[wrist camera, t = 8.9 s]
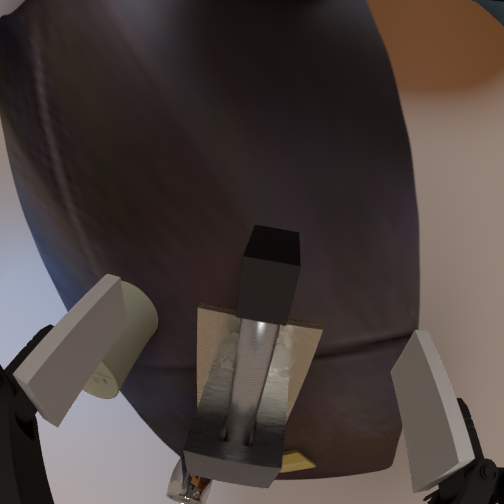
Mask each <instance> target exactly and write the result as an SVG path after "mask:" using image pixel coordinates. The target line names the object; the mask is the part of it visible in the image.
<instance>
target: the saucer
mask: <svg viewBox="0 0 504 504" xmlns="http://www.w3.org/2000/svg"><path fill="white" fill-rule="evenodd" d="M315 466H316V465H315V464H314V463H313V462H312V461H311V460H310V459H309V458H308V457H306V456H305V455H303V454H302V453H301V452H300V451H298V450H297V449H292V450H287V451H283V460H282V469H281V470H280V472H289V471H295V470H301V469H307V468H313V467H315Z"/></svg>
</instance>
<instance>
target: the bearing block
mask: <svg viewBox="0 0 504 504" xmlns="http://www.w3.org/2000/svg"><path fill="white" fill-rule="evenodd" d="M235 316H236V310H234V309H229V308H224V307H219V306H214V305H209V304H204V303H200V304H199V306H198V318H197V411H196V414H195V417H194V420H193V423H192V426H191V429H190V432H189V435H188V438H187V441H186V444H185V447H184V450H183V451H184V457H185V463H186V468H187V473H188V474H192V475H196V476H200V477H204V478H209V479H213V480H218V481H223V482H229V483H234V484H239V485H246V486H253V487H260V488H269V486H270V485H271V483H272V482H273V481H274V479H275V478H276V476H277V475H278V473H279V472H280V470H281V469H282V460H283V449H284V438H285V425H286V422H287V419H288V417H289V415H290V413H291V410H292V408H293V406H294V403H295V401H296V399H297V396H298V394H299V392H300V389H301V387H302V384H303V382H304V379H305V377H306V374H307V372H308V369H309V367H310V364H311V362H312V359H313V356H314V354H315V351H316V348H317V346H318V343H319V340H320V337H321V335H322V332H323V324H317V323H310V322H303V321H297V320H291V319H288V320H287V324H286V326H282V325H280V329H279V333H278V337H277V341H276V345H275V349H274V353H273V357H272V361H271V365H270V369H269V373H268V376H267V380H266V384H265V388H264V391H263V395H262V398H261V402H260V406H259V409H258V413H257V416H256V420H255V423H254V427H253V430H252V433H251V437H250V440H249V443H248V446H243V445H237V444H232V443H226V442H224V438H225V430H226V423H227V415H228V408H229V400H230V393H231V385H232V378H233V370H234V363H235V355H236V348H237V341H238V333H239V326H240V318H237V317H235Z"/></svg>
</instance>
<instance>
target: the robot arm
mask: <svg viewBox="0 0 504 504" xmlns="http://www.w3.org/2000/svg"><path fill="white" fill-rule="evenodd" d="M472 1H475V2H477V3H478V4H480V6H482V7H483V8H484V9H485V10H486V11H488V12H489V13H490V14H491V15H492V16H493V17H494V18H495V19H496V20H498V21H499V22H500V23H501V24H502V25H503V26H504V0H472ZM127 324H128V323H127V317H126V311H125V305H124V299H123V292H122V285H121V277H118V276H114V275H110V274H106V275H105V276H104V277H103V278H102V279H101V280H100V281H99V282H98V283H97V284H96V285H95V286H94V287H93V288H92V289H90V290H89V291H88V292H87V293H86V294H85V295H84V296H83V297H82V298H81V299H80V300H79V301H78V302H77V303H76V304H75V305H74V307H73V308H72V309H71V310H70V311H69V312H68V313H67V314H66V315H65V316H64V317H63V318H62V319H61V320H60V321H59V323H57V324H56V325H55V326H53V325H48V326H46V327H44V328H43V329H41V330H40V331H39V332H38V333H37V334H36V335H35V336H34V337H33V339H32V340H30V341H29V342H28V344H27V346H25V347H24V348H23V349H22V350H21V351H20V352H19V354H18V355H17V356H16V357H15V358H14V359H13V361H12V362H11V363H10V364H9V365H8V366H7V367H6V369H4V370H3V368H2V367H1V365H0V504H54V501H53V498H52V494H51V491H50V487H49V483H48V480H47V475H46V471H45V466H44V462H43V457H42V451H41V445H40V440H39V433H38V425H37V419H36V416H35V414H36V412H37V411H38V412H39V413H40V415H41V416H42V417H43V418H44V419H45V420H47V421H48V422H50V423H51V424H53V425H55V426H56V427H58V426H59V425H60V423H61V422H62V420H63V418H64V417H65V415H66V413H67V412H68V410H69V409H70V407H71V406H72V404H73V403H74V401H75V399H76V398H77V396H78V395H79V393H80V392H81V390H82V389H83V387H84V386H85V384H86V383H87V381H88V380H89V378H90V377H91V376H92V374H93V373H94V371H95V370H96V368H97V367H98V365H99V364H100V362H101V361H102V359H103V358H104V357H105V355H106V354H107V352H108V351H109V349H110V348H111V347H112V345H113V344H114V342H115V341H116V340H117V338H118V337H119V335H120V334H121V333H122V331H123V330H124V329H125V327H126V326H127ZM390 372H391V376H392V380H393V384H394V388H395V392H396V397H397V401H398V406H399V410H400V415H401V420H402V425H403V430H404V435H405V441H406V447H407V452H408V459H409V466H410V473H411V480H412V489H413V493H416V492H421V491H426V490H429V489H431V488H432V487H434V486H436V485H437V484H438V485H439V489H438V490H437V491H435V492H433V493H431V494H430V495H428V496H426V497H425V498H424V499H423V500H424V501H426V500H428V499H430V498H431V497H432V498H431V500H430V501H428V502H427V503H428V504H496V503H498V504H504V468H501V467H496V465H495V463H494V462H493V461H492V460H490V459H485V458H484V456H483V453H482V449H481V446H480V442H479V439H478V436H477V433H476V430H475V427H474V424H473V421H472V419H471V415H470V412H469V409H468V407H467V405H466V404H465V403H464V401H463V400H462V399H461V398H456V397H455V394H454V391H453V388H452V386H451V383H450V381H449V378H448V376H447V373H446V371H445V368H444V366H443V363H442V361H441V359H440V356H439V354H438V352H437V349H436V347H435V345H434V343H433V341H432V338H431V336H430V334H429V332H428V331H420V330H415V331H414V332H413V334H412V336H411V338H410V340H409V341H408V343H407V345H406V347H405V348H404V350H403V352H402V354H401V355H400V357H399V359H398V360H397V362H396V363H395V365H394V367H393V368H392V370H391V371H390Z"/></svg>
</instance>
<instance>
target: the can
mask: <svg viewBox="0 0 504 504" xmlns="http://www.w3.org/2000/svg"><path fill="white" fill-rule="evenodd" d="M121 285H122V292H123V299H124V305H125V311H126V317H127V323H128V324H127V326H126V327H125V329H124V330H123V331H122V333H121V334H120V335H119V337H118V338H117V340H116V341H115V342H114V344H113V345H112V347H111V348H110V349H109V351H108V352H107V354H106V355H105V357H104V358H103V359H102V361H101V362H100V364H99V365H98V367H97V368H96V370H95V371H94V373H93V374H92V376H91V377H90V378H89V380H88V381H87V383H86V384H85V386H84V387H83V389H82V390H84V391H86V392H87V393H89V394H91V395H94V396H96V397H99V398H104V399H111V398H114V397H116V396H117V394H118V393H119V390H120V388H121V386H122V384H123V382H124V381H125V379H126V377H127V375H128V374H129V372H130V370H131V368H132V367H133V365H134V363H135V362H136V360H137V358H138V357H139V355H140V353H141V352H142V350H143V348H144V347H145V345H146V344H147V342H148V341H149V339H150V338H151V336H152V335H153V334H154V333H155V332H156V330H157V328H158V314H157V311H156V309H155V307H154V305H153V303H152V302H151V300H150V299H149V298H148V297H147V295H146V294H145V293H144V292H142V291H141V290H140V289H139V288H137V287H136V286H134V285H132V284H130V283H128V282H125V281H121Z"/></svg>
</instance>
